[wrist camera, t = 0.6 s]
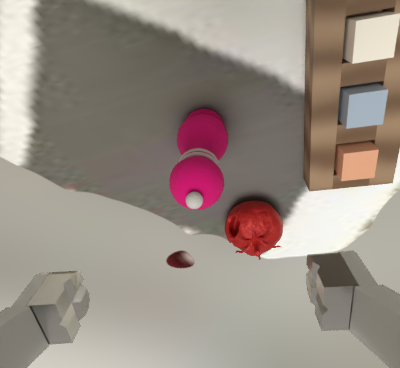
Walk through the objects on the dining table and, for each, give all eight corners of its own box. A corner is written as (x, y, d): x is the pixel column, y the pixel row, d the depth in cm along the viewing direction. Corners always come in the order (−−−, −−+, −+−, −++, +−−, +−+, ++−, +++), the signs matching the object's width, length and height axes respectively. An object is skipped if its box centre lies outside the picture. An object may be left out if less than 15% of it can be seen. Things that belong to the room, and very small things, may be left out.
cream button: (345, 18, 35) (356, 20, 32) (385, 11, 35) (400, 13, 32) (342, 57, 38) (352, 63, 35) (380, 52, 37) (393, 57, 34)
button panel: (306, -4, 37) (314, -4, 33) (413, -24, 35) (434, -26, 32) (303, 177, 50) (309, 191, 47) (380, 169, 49) (392, 183, 45)
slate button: (340, 87, 40) (349, 94, 37) (375, 81, 39) (388, 89, 36) (337, 119, 42) (346, 128, 39) (371, 114, 41) (382, 124, 38)
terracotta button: (335, 142, 44) (343, 153, 41) (368, 138, 43) (378, 149, 40) (333, 168, 46) (341, 181, 43) (364, 165, 45) (374, 177, 42)
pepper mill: (217, 97, 44) (213, 163, 27) (234, 140, 48) (240, 222, 31) (172, 115, 46) (144, 187, 29) (192, 155, 49) (176, 240, 33)
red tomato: (275, 187, 52) (286, 222, 44) (282, 231, 57) (293, 269, 49) (219, 198, 54) (219, 233, 46) (230, 240, 59) (232, 278, 51)
